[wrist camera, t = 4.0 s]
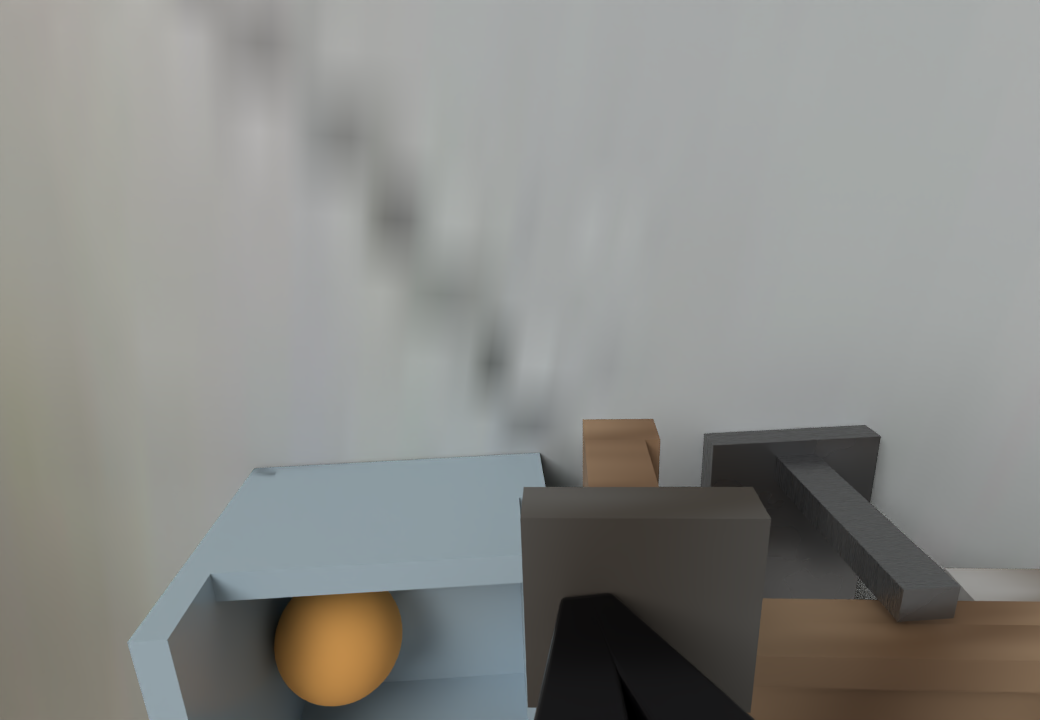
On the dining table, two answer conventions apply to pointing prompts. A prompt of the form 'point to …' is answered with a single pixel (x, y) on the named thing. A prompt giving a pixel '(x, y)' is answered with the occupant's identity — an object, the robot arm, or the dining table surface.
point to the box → (352, 591)
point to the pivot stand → (828, 519)
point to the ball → (337, 645)
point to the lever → (763, 601)
